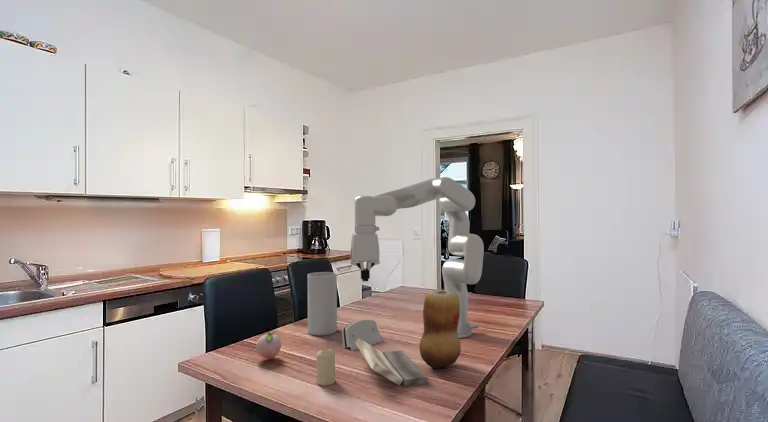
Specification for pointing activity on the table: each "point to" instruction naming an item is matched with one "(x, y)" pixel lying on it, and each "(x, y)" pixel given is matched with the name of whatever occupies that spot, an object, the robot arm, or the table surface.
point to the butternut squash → (440, 329)
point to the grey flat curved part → (360, 333)
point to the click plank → (378, 361)
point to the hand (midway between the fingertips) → (365, 280)
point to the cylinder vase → (322, 303)
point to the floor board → (406, 368)
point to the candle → (325, 367)
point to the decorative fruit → (268, 345)
